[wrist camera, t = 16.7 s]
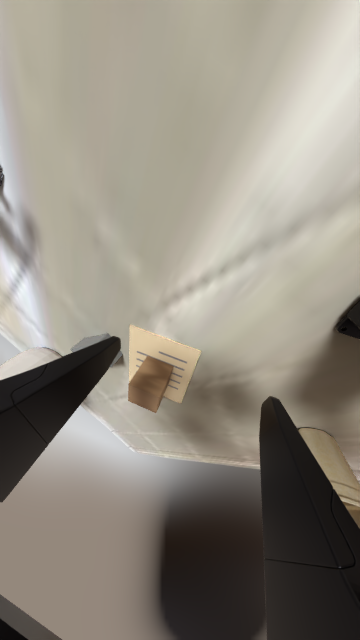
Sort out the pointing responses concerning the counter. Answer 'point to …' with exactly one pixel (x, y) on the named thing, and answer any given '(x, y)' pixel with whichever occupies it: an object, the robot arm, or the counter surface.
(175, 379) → the letter
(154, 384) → the walnut cube
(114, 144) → the counter surface
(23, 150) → the counter surface
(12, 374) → the soap bottle
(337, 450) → the flower pot
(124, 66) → the counter surface
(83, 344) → the paperweight
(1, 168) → the counter surface
